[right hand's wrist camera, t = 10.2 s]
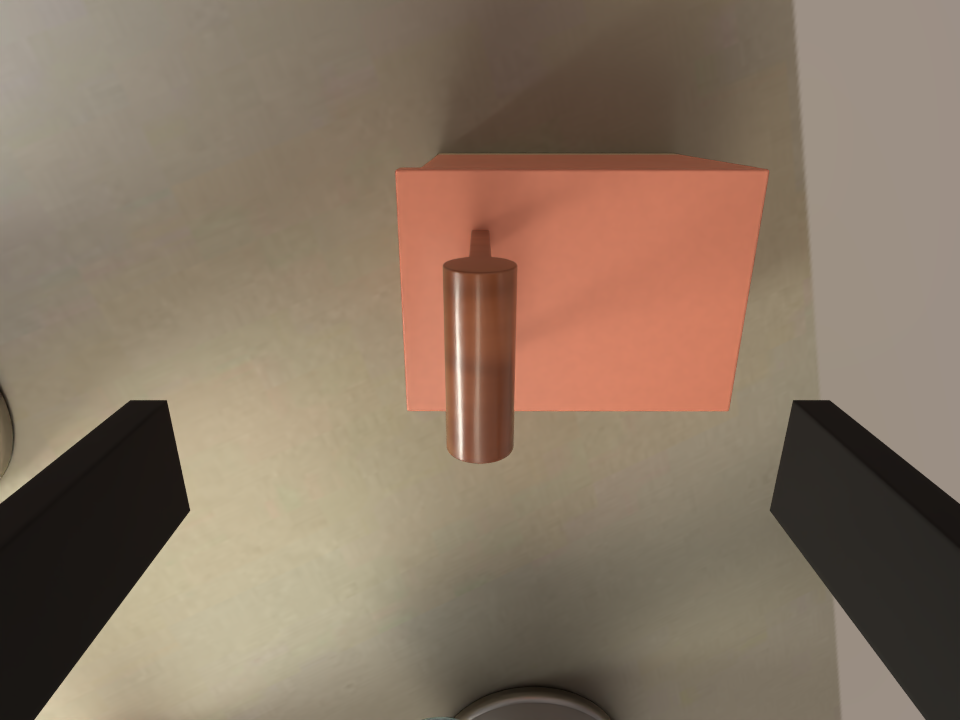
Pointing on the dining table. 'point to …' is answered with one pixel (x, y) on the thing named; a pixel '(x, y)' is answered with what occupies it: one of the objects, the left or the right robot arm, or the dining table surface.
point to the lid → (571, 291)
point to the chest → (573, 160)
